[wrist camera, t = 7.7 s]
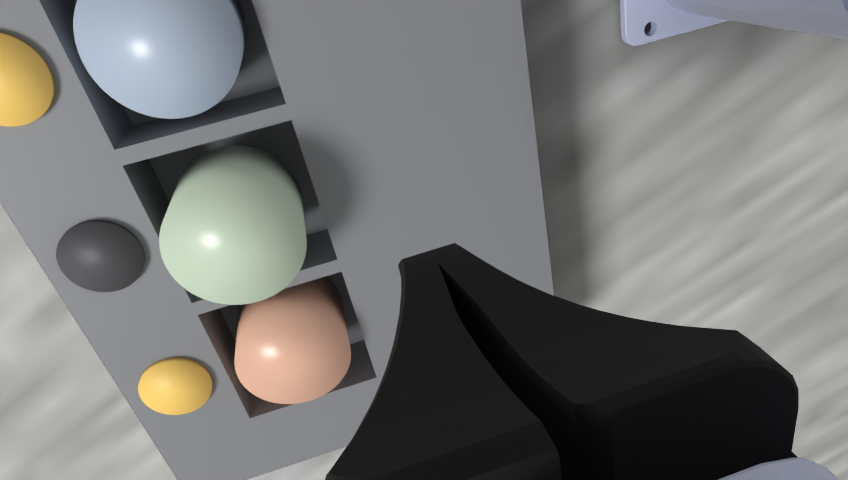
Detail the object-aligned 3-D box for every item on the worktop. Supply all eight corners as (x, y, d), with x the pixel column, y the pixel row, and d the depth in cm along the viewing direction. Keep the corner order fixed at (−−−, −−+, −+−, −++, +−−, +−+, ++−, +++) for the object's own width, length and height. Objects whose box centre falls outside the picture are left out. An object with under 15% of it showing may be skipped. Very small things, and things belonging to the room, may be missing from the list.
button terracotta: (326, 255, 22) (333, 297, 20) (353, 335, 24) (363, 383, 21) (223, 286, 22) (216, 333, 19) (259, 365, 24) (257, 417, 21)
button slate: (217, -61, 17) (207, -62, 14) (264, 75, 19) (262, 97, 16) (77, -29, 16) (40, -23, 14) (140, 108, 18) (118, 135, 16)
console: (447, -258, 17) (488, -305, 14) (531, 326, 28) (564, 377, 24) (-130, -138, 15) (-238, -158, 12) (199, 433, 26) (189, 502, 23)
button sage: (280, 130, 18) (281, 162, 16) (317, 238, 20) (323, 281, 18) (153, 165, 18) (133, 203, 15) (203, 271, 20) (193, 321, 17)
